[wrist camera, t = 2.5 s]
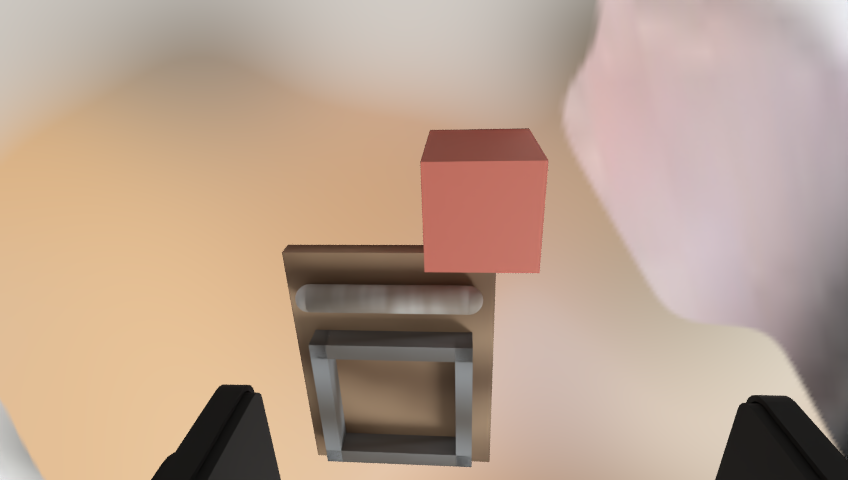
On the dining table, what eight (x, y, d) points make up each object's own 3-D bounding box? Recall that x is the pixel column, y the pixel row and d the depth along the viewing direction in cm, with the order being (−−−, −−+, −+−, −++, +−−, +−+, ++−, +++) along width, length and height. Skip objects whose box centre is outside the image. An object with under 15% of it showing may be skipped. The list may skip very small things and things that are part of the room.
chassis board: (288, 244, 28) (271, 266, 25) (495, 245, 27) (498, 267, 24) (322, 443, 34) (311, 474, 32) (488, 449, 33) (490, 482, 31)
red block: (430, 130, 24) (420, 161, 19) (528, 128, 24) (548, 160, 18) (432, 220, 26) (424, 272, 21) (523, 220, 26) (539, 272, 21)
